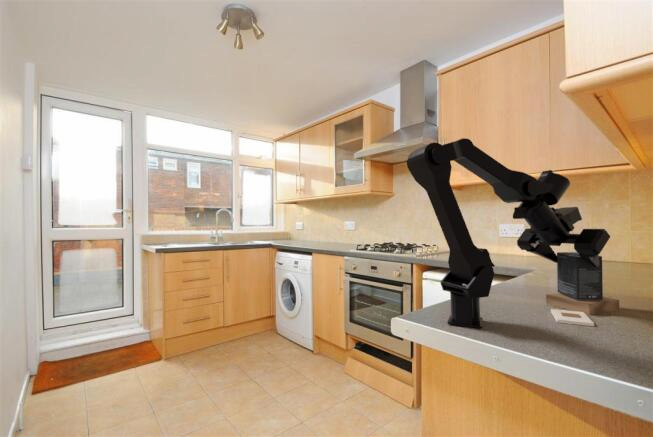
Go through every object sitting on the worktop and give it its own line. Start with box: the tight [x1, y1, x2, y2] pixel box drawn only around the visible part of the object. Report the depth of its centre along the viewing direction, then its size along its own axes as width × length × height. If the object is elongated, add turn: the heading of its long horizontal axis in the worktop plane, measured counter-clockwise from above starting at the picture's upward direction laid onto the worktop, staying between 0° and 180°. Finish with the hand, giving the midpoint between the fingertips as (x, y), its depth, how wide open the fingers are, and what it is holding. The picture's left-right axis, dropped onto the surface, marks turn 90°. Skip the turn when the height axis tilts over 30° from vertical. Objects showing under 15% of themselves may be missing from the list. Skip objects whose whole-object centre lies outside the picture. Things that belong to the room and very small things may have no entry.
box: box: [556, 251, 604, 301], centre depth 75 cm, size 8×6×11 cm
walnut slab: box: [545, 292, 620, 316], centre depth 75 cm, size 10×10×2 cm
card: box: [550, 308, 595, 327], centre depth 67 cm, size 9×6×1 cm, turn 150°
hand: (576, 263), depth 75 cm, fingers open, 9 cm apart
